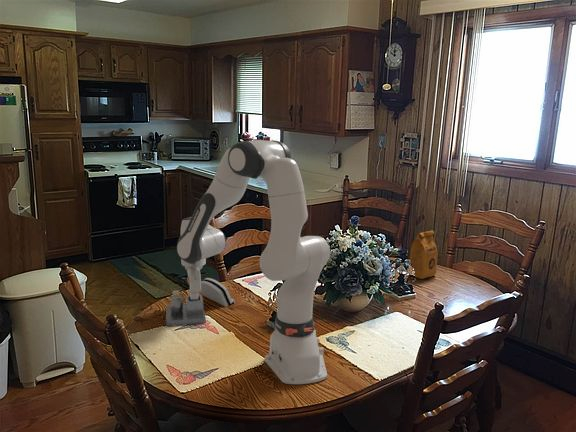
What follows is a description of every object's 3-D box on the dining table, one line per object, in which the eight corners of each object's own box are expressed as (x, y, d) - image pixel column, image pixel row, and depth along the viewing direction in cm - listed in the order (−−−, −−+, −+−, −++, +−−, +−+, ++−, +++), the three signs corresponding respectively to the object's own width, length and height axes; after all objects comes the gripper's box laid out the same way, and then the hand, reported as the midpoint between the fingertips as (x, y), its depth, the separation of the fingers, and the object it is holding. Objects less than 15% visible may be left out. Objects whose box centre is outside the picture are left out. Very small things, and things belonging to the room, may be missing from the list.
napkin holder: (236, 303, 197) (229, 283, 193) (227, 310, 194) (220, 290, 190) (211, 291, 209) (204, 272, 204) (203, 297, 206) (195, 278, 202)
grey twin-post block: (205, 322, 179) (205, 302, 177) (166, 326, 176) (165, 305, 174) (202, 305, 195) (201, 286, 193) (165, 307, 191) (165, 288, 190)
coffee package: (439, 276, 233) (443, 232, 228) (421, 281, 226) (425, 235, 221) (423, 270, 241) (426, 227, 236) (405, 275, 234) (409, 230, 229)
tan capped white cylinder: (200, 306, 182) (200, 279, 180) (188, 307, 181) (188, 280, 179) (199, 301, 187) (199, 275, 184) (188, 302, 185) (187, 276, 183)
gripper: (204, 267, 171) (205, 304, 174) (200, 250, 190) (200, 284, 193) (186, 268, 169) (187, 306, 172) (183, 251, 189) (184, 285, 192)
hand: (194, 294), depth 183 cm, fingers closed on tan capped white cylinder, 4 cm apart
